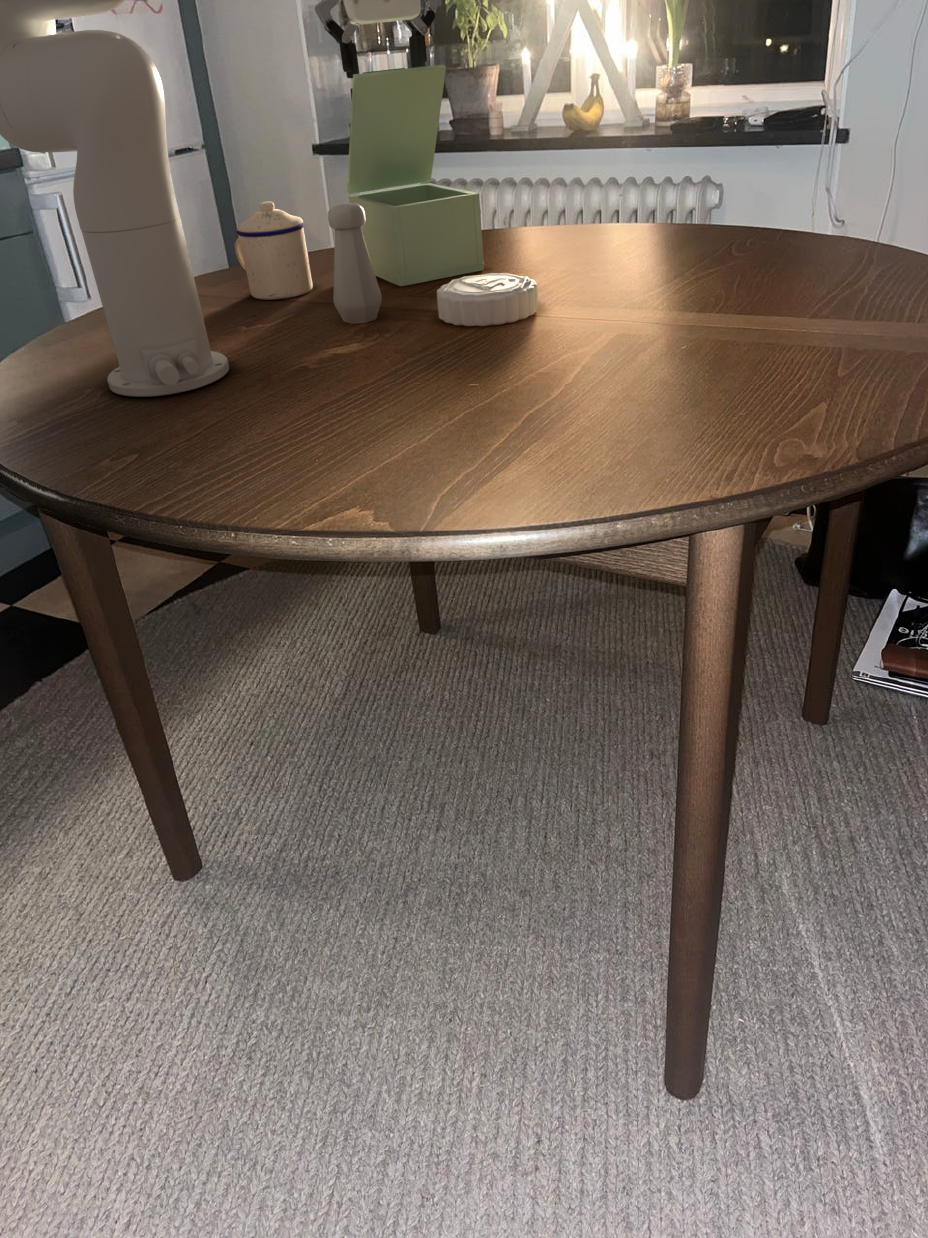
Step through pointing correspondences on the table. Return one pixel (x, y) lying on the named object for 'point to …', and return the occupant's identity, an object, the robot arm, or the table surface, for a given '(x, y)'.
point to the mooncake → (487, 299)
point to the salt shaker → (353, 266)
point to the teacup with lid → (274, 254)
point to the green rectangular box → (422, 232)
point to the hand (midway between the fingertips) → (386, 73)
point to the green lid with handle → (394, 127)
